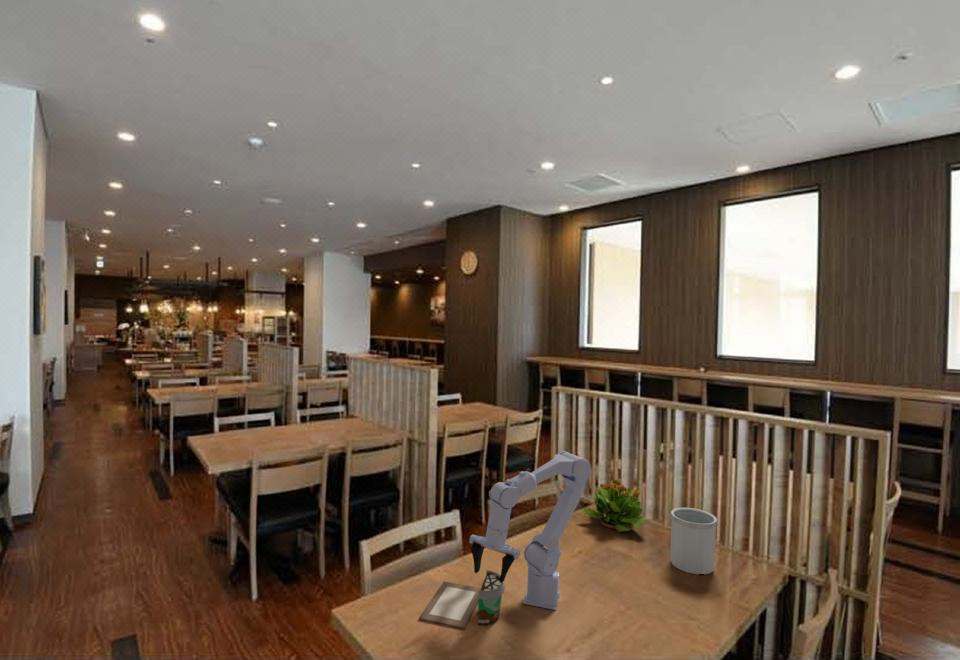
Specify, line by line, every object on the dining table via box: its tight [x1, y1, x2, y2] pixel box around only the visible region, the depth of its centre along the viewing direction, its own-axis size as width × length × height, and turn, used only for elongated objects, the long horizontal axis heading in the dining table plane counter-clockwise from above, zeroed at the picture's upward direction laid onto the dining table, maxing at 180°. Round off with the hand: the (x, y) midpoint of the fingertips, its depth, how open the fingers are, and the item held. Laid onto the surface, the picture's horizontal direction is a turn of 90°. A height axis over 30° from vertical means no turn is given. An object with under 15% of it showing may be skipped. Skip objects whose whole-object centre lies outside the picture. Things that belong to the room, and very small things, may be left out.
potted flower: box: [580, 478, 647, 533], centre depth 207 cm, size 25×24×18 cm
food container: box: [477, 569, 506, 627], centre depth 138 cm, size 12×6×10 cm, turn 168°
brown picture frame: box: [418, 581, 481, 631], centre depth 143 cm, size 13×20×1 cm, turn 164°
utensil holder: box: [670, 507, 718, 575], centre depth 174 cm, size 15×15×18 cm
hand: (489, 576), depth 139 cm, fingers open, 7 cm apart
